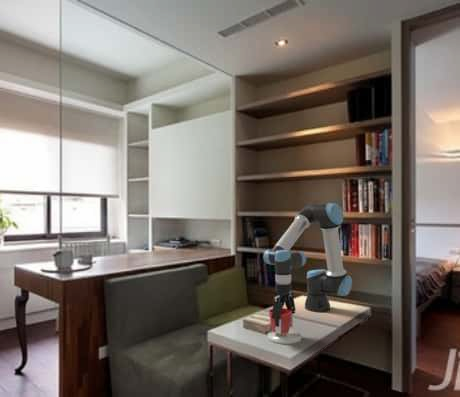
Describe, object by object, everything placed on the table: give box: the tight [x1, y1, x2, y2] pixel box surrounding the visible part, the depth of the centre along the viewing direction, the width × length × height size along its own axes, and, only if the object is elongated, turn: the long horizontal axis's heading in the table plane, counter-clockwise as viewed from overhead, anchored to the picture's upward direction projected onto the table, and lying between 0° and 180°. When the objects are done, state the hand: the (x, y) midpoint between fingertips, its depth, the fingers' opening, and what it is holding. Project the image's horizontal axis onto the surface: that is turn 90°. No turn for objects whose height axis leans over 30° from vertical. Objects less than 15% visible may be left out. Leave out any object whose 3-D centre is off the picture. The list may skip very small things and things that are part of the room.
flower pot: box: [268, 307, 292, 334], centre depth 164 cm, size 11×11×10 cm
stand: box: [242, 312, 273, 334], centre depth 178 cm, size 14×14×4 cm
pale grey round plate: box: [267, 329, 303, 345], centre depth 163 cm, size 16×16×1 cm
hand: (284, 329), depth 163 cm, fingers closed on flower pot, 10 cm apart
